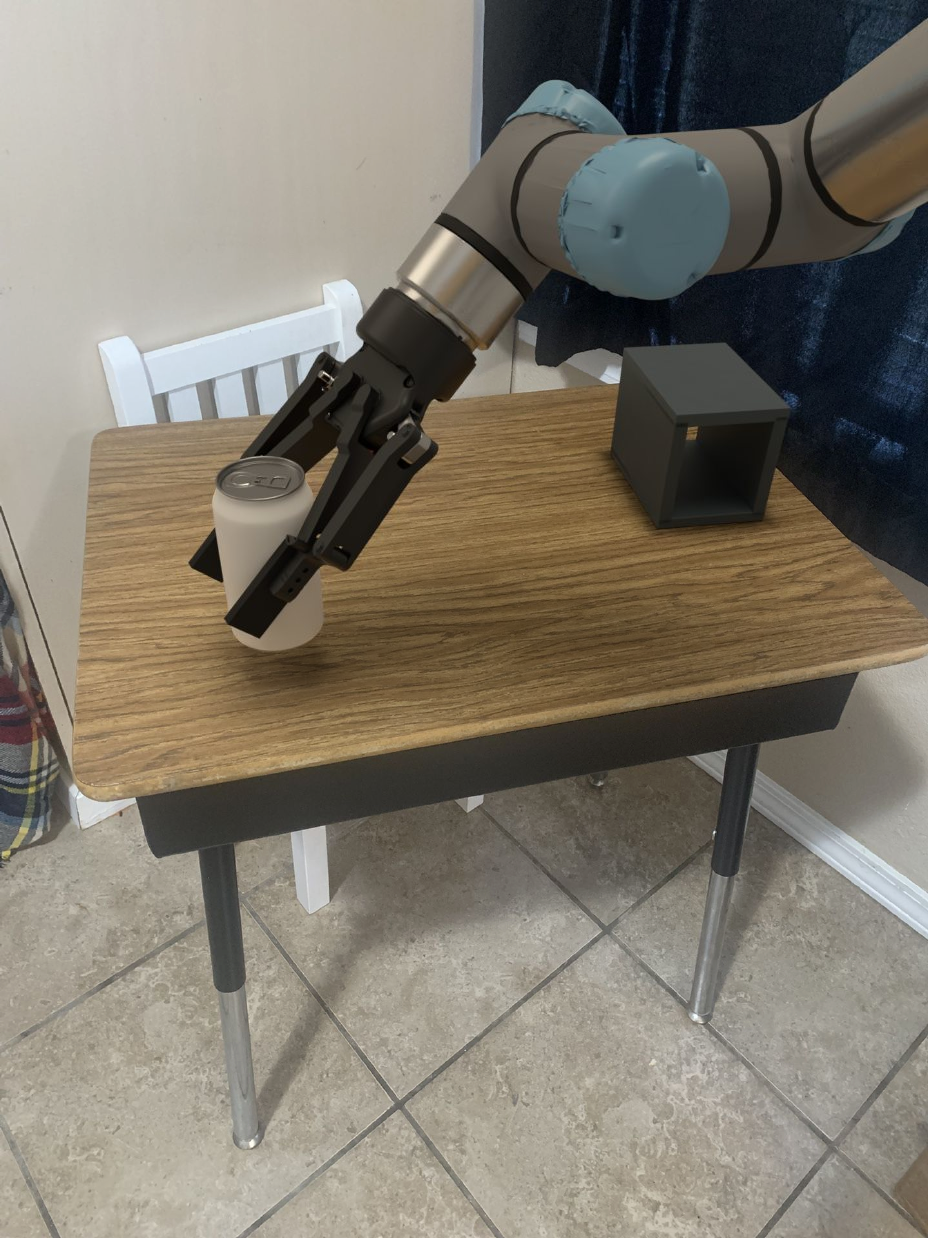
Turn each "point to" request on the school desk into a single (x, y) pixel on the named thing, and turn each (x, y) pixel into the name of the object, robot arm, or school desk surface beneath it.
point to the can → (265, 541)
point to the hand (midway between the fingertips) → (223, 599)
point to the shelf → (725, 442)
